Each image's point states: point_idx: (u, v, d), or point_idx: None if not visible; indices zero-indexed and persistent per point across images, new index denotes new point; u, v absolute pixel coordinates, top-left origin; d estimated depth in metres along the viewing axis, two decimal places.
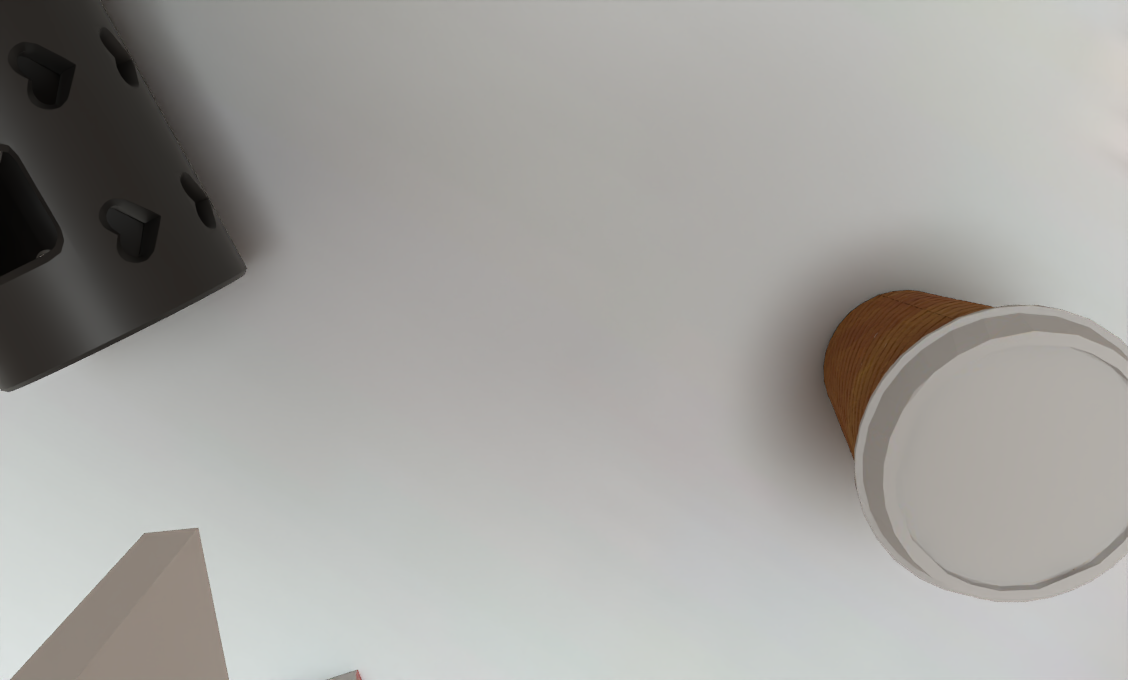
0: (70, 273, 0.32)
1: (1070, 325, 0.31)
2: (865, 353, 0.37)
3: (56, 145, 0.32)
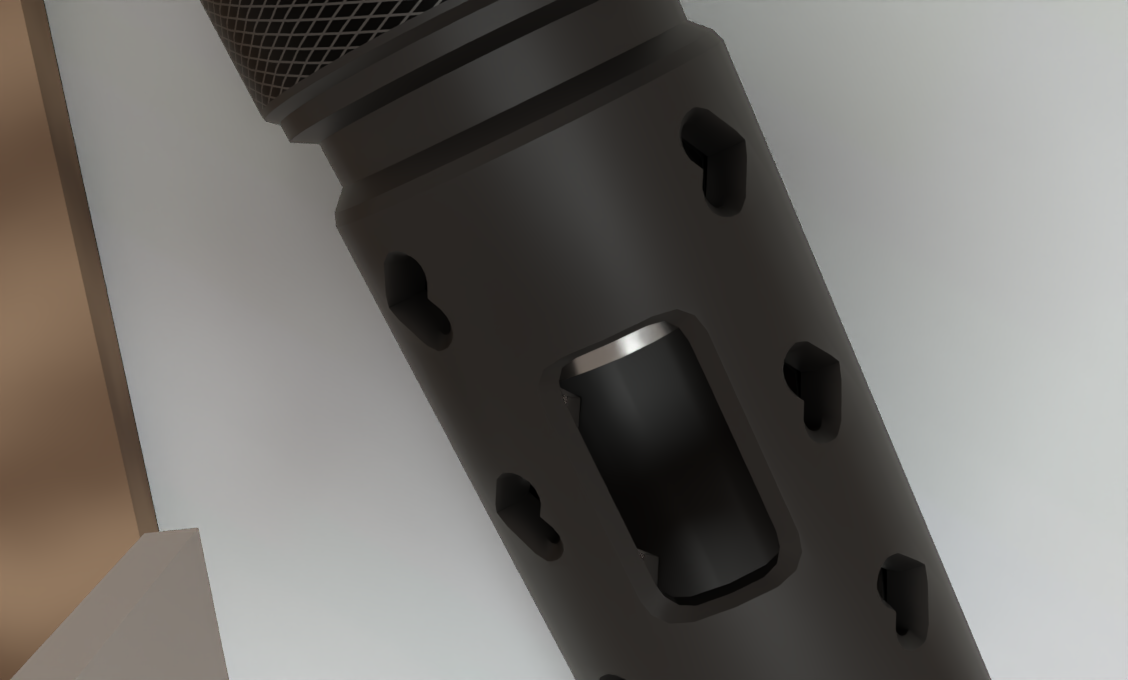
0: None
1: None
2: None
3: None
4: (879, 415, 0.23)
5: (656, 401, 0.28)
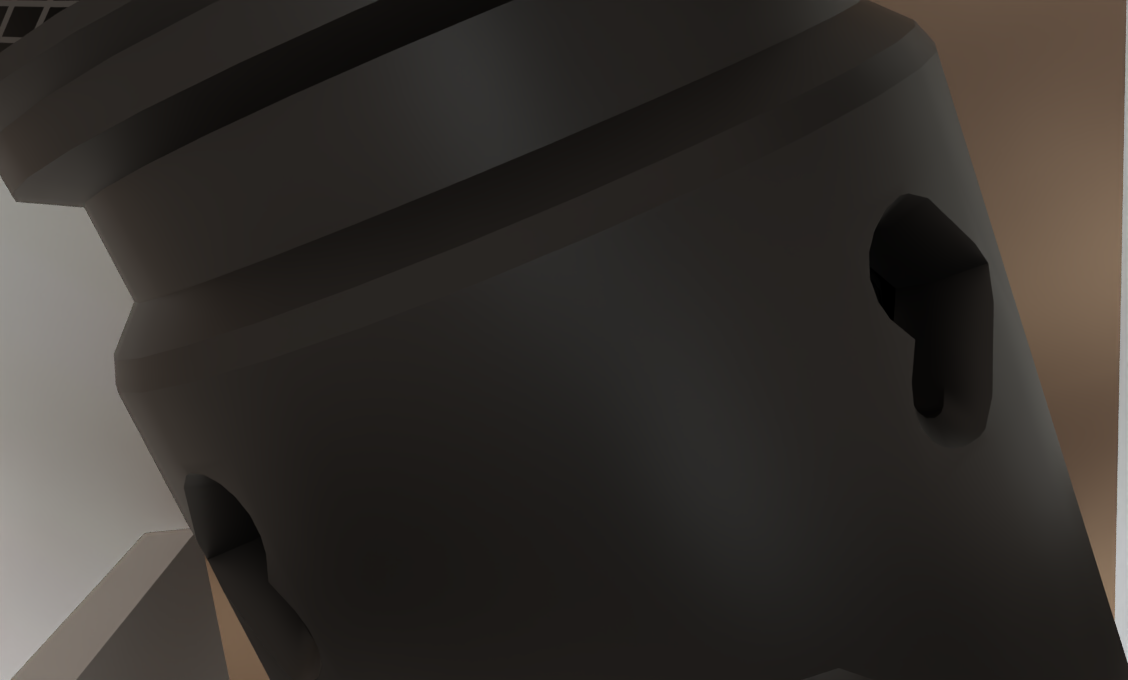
0: None
1: None
2: None
3: None
4: None
5: None
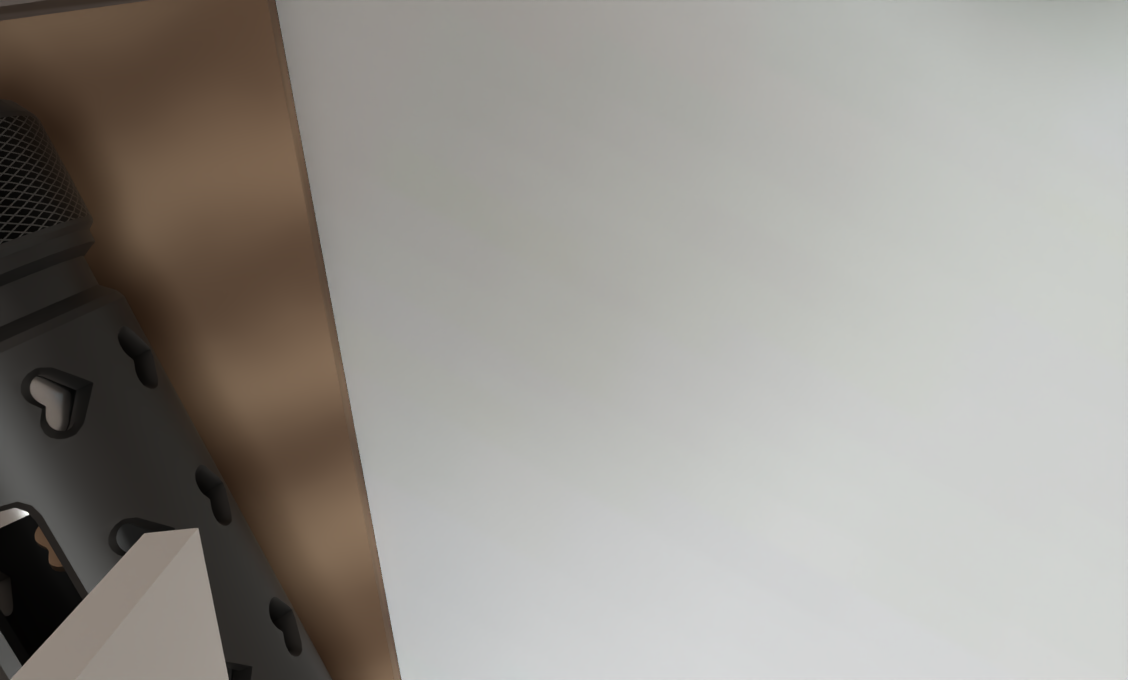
0: None
1: None
2: None
3: None
4: (232, 560, 0.33)
5: (142, 534, 0.37)
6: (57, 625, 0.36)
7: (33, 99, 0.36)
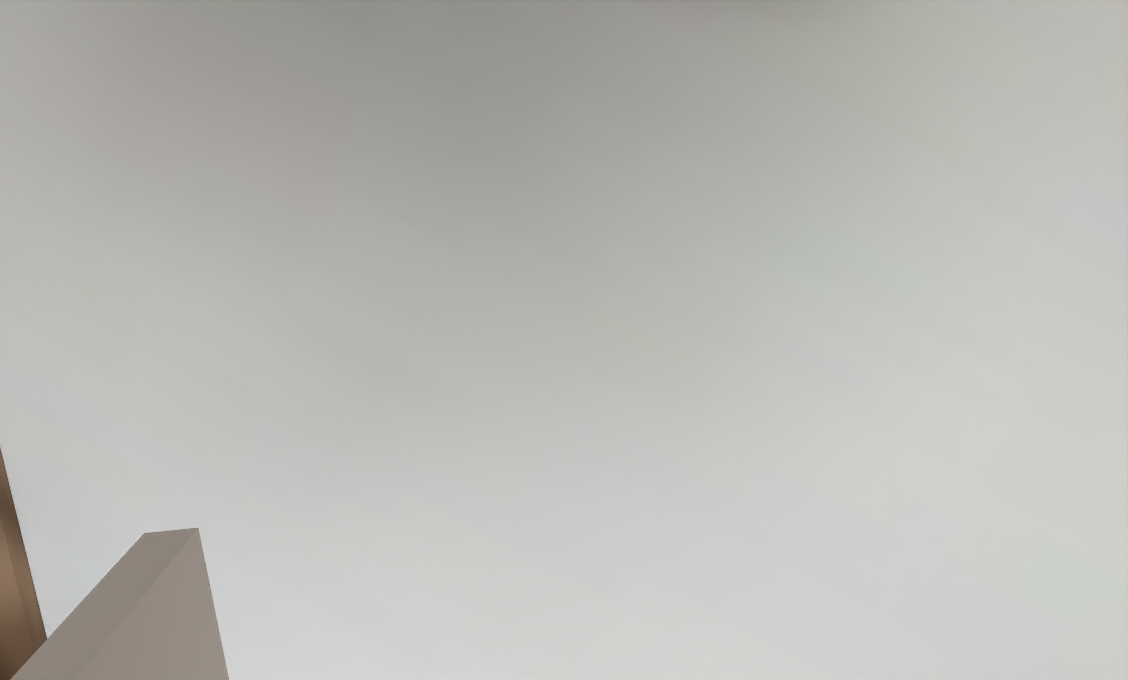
0: None
1: None
2: None
3: None
4: None
5: None
6: None
7: None
